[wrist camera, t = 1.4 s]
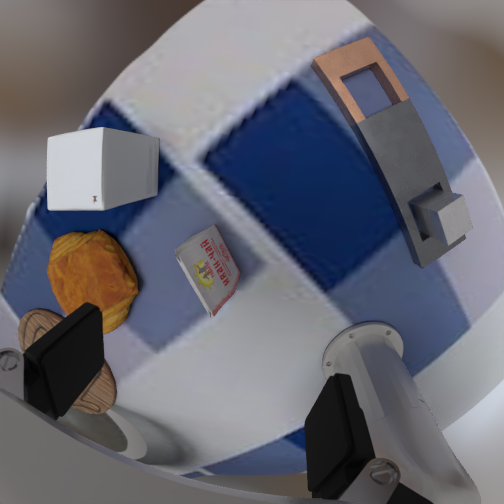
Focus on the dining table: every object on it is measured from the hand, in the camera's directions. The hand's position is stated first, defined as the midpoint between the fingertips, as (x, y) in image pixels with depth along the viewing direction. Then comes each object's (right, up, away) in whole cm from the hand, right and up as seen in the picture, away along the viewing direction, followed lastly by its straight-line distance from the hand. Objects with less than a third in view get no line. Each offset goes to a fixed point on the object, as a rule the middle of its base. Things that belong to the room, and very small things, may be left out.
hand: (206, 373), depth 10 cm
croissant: (-20, +1, +27) cm, 34 cm away
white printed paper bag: (-3, +4, +25) cm, 26 cm away
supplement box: (-13, +15, +23) cm, 30 cm away
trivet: (-35, -17, +34) cm, 52 cm away
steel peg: (+23, +10, +21) cm, 33 cm away
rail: (+19, +17, +20) cm, 32 cm away
